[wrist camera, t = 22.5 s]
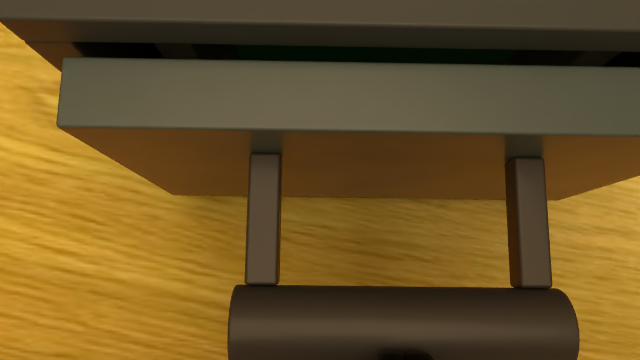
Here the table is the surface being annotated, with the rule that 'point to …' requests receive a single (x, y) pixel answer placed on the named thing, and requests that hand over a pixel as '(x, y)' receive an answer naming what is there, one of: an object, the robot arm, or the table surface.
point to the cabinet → (323, 25)
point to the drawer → (371, 177)
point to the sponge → (372, 54)
